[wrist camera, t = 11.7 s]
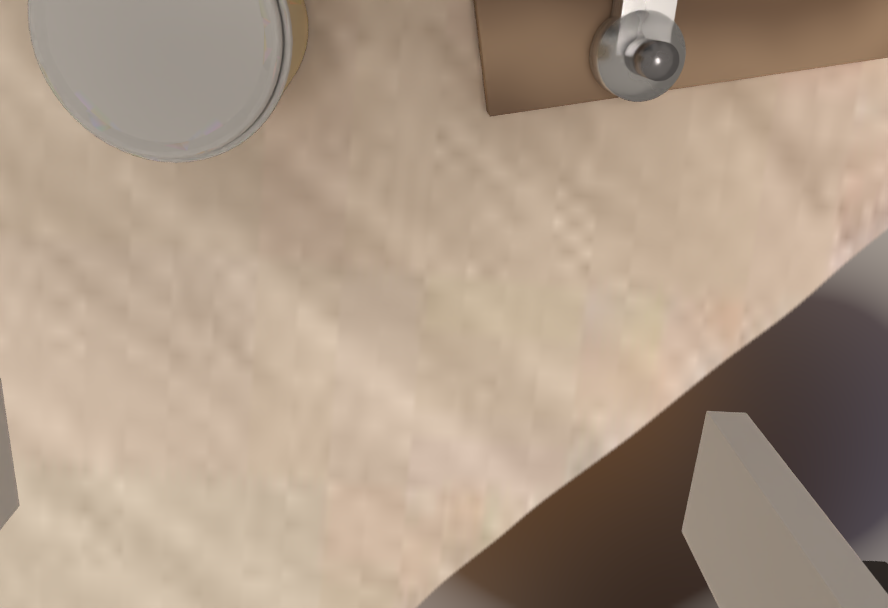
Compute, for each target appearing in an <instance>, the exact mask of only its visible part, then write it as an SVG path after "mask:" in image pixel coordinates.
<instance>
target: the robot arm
mask: <svg viewBox="0 0 888 608" xmlns="http://www.w3.org/2000/svg"><path fill="white" fill-rule="evenodd" d="M18 507H19V499H18V492H17V485H16V478H15V472H14V465H13V458H12V451H11V445H10V438H9V431H8V424H7V417H6V411H5V404H4V397H3V390H2V384H1V378H0V530H1V528H2V527H3V526H4V524H5V523H6V522H7V521H8V519H9V518H10V517H11V516H12V514H13V513H14V512H15V511H16V509H17V508H18ZM682 533H683V535H684V537H685V539H686V541H687V543H688V545H689V547H690V549H691V551H692V553H693V555H694V557H695V559H696V561H697V563H698V565H699V568H700V570H701V571H702V574H703V576H704V578H705V580H706V582H707V584H708V586H709V588H710V590H711V592H712V594H713V596H714V598H715V600H716V602H717V604H718V606H719V608H888V564H887V563H886V562H878V561H861V559H860V558H859V557H858V556H857V554H856V553H855V552H854V550H853V549H852V548H851V547H850V545H849V544H848V543H847V541H846V540H845V539H844V538H843V536H842V535H841V534H840V533H839V532H838V530H837V529H836V527H835V526H834V525H833V523H832V522H831V521H830V520H829V518H828V517H827V516H826V515H825V513H824V512H823V511H822V510H821V508H820V507H819V506H818V504H817V503H816V502H815V500H814V499H813V498H812V497H811V496H810V494H809V493H808V491H807V490H806V489H805V488H804V486H803V485H802V484H801V483H800V481H799V480H798V479H797V477H796V476H795V475H794V474H793V472H792V471H791V470H790V468H789V467H788V466H787V465H786V463H785V462H784V461H783V459H782V458H781V457H780V456H779V454H778V453H777V452H776V451H775V449H774V448H773V447H772V445H771V444H770V443H769V442H768V440H767V439H766V438H765V436H764V435H763V434H762V433H761V431H760V430H759V429H758V428H757V426H756V425H755V424H754V422H753V421H752V420H751V419H750V417H749V416H748V415H747V413H736V412H735V413H734V412H715V411H707V413H706V417H705V422H704V427H703V432H702V436H701V441H700V446H699V451H698V456H697V461H696V465H695V470H694V475H693V479H692V485H691V489H690V494H689V499H688V503H687V508H686V513H685V518H684V523H683V527H682Z"/></svg>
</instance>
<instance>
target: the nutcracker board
mask: <svg viewBox="0 0 888 608" xmlns="http://www.w3.org/2000/svg"><path fill="white" fill-rule="evenodd" d="M612 6H613V0H474V7H475V16H476V24H477V32H478V41H479V49H480V57H481V66H482V74H483V82H484V91H485V99H486V108H487V112H488V114H489V115H490V116H496V115H503V114H510V113H516V112H523V111H530V110H537V109H543V108H550V107H557V106H564V105H570V104H577V103H584V102H591V101H597V100H604V99H611V98H618V96H616V95H614V94H612V93H610V92H608V91H607V90H605V89H604V88H603V87H602V86H601V85H600V84H599V83H598V82H597V80H596V79H595V77H594V75H593V73H592V70H591V67H590V62H589V52H590V46H591V42H592V39H593V37H594V35H595V33H596V31H597V30H598V28H599V27H600V26H601V24H602V23H603V22H604V21H605V20H607V19H608V18H609V17H610V16H611V13H612ZM674 22H675V23H676V24H677V25H678V27H679V28H680V30H681V32H682V34H683V37H684V41H685V46H686V56H685V62H684V66H683V69H682V72H681V74H680V76H679V77H678V79H677V80H676V82H675V83H674V84H673V85H672V87H671V88H669V89H668V90H672V89H678V88H685V87H692V86H699V85H705V84H712V83H719V82H726V81H732V80H739V79H746V78H753V77H759V76H766V75H773V74H780V73H787V72H793V71H800V70H807V69H814V68H820V67H827V66H834V65H841V64H847V63H854V62H861V61H868V60H874V59H881V58H888V0H677V6H676V12H675V18H674Z"/></svg>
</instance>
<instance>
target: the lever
mask: <svg viewBox="0 0 888 608" xmlns="http://www.w3.org/2000/svg"><path fill="white" fill-rule="evenodd" d="M676 6H677V0H613V6H612V13H611V16H610V17H609V18H608V19H607V20H605V21H604V22H603V23H602V24H601V26H600V27H599V28H598V30H597V31H596V33H595V35H594V37H593V39H592V42H591V46H590V52H589V62H590V67H591V70H592V73H593V75H594V77H595V79H596V80H597V82H598V83H599V84H600V85H601V86H602V87H603V88H604V89H605V90H607V91H608V92H610V93H612V94H614V95H616V96H618V97H620V98H622V99H625V100H628V101H634V102H641V101H647V100H651V99H654V98H656V97H658V96H660V95H662V94H663V93H665V92H666V91H667V90H668V89H669V88H671V87H672V85H673V84H674V83H675V82H676V80H677V79H678V77H679V76H680V74H681V72H682V69H683V66H684V62H685V56H686V46H685V41H684V37H683V34H682V32H681V30H680V28H679V27H678V25H677V24H676V23H675V22H674V18H675V12H676Z"/></svg>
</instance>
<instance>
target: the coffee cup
mask: <svg viewBox="0 0 888 608" xmlns="http://www.w3.org/2000/svg"><path fill="white" fill-rule="evenodd" d="M28 21H29V31H30V36H31V41H32V45H33V49H34V53H35V56H36V59H37V61H38V64H39V66H40V69H41V71H42V73H43V75H44V77H45V79H46V81H47V83H48V84H49V86H50V88H51V89H52V91H53V93H54V94H55V96H56V97H57V98H58V100H59V101H60V102H61V104H62V105H63V106H64V108H65V109H66V110H67V111H68V112H69V113H70V114H71V115H72V116H73V117H74V118H75V119H76V120H77V121H78V122H79V123H80V124H81V125H82V126H83V127H84V128H85V129H87V130H88V131H89V132H91V133H92V134H93V135H95V136H96V137H98V138H99V139H101V140H102V141H104V142H106V143H107V144H109V145H111V146H113V147H115V148H117V149H119V150H121V151H123V152H126V153H129V154H131V155H134V156H137V157H141V158H145V159H148V160H154V161H161V162H174V163H178V162H191V161H198V160H203V159H207V158H211V157H214V156H217V155H220V154H222V153H224V152H227V151H229V150H231V149H233V148H234V147H236V146H238V145H240V144H241V143H242V142H244V141H245V140H247V139H248V138H249V137H250V136H252V135H253V134H254V133H255V132H256V131H257V130H258V129H259V128H260V127H261V126H262V125H263V124H264V122H265V121H266V120H267V119H268V117H269V116H270V114H271V113H272V112H273V110H274V109H275V107H276V105H277V103H278V101H279V99H280V97H281V95H282V93H283V92H284V90H285V89H286V87H287V86H288V84H289V83H290V81H291V80H292V78H293V77H294V75H295V74H296V72H297V70H298V68H299V66H300V64H301V61H302V59H303V56H304V53H305V50H306V45H307V39H308V18H307V12H306V7H305V3H304V0H28Z"/></svg>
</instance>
